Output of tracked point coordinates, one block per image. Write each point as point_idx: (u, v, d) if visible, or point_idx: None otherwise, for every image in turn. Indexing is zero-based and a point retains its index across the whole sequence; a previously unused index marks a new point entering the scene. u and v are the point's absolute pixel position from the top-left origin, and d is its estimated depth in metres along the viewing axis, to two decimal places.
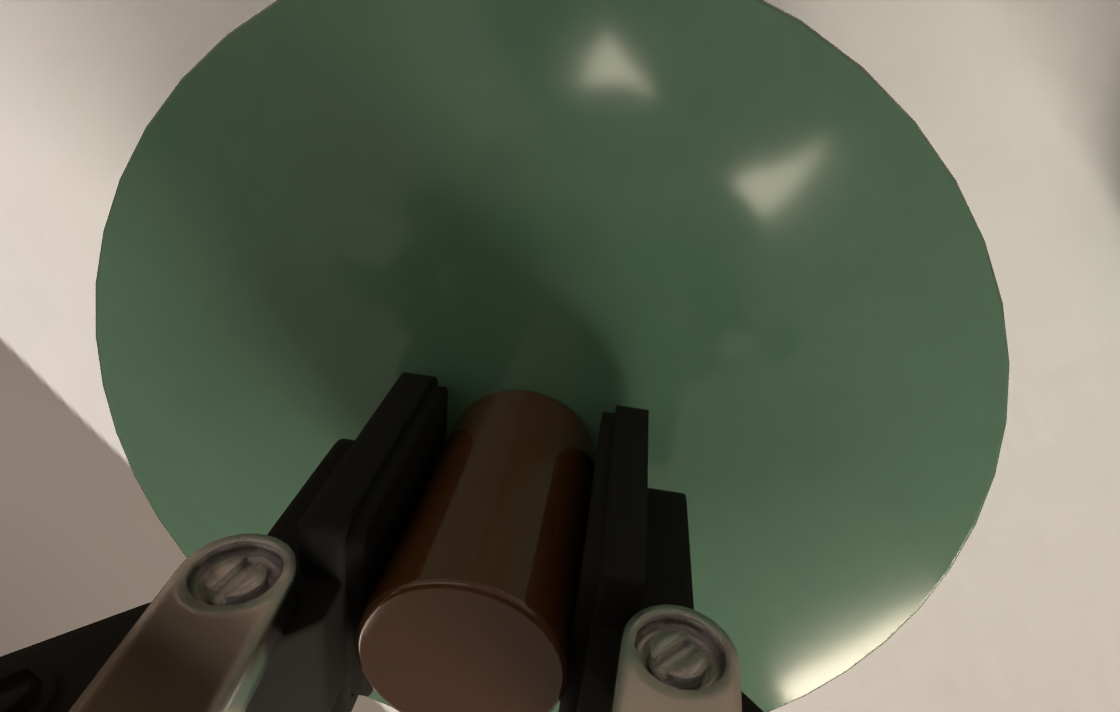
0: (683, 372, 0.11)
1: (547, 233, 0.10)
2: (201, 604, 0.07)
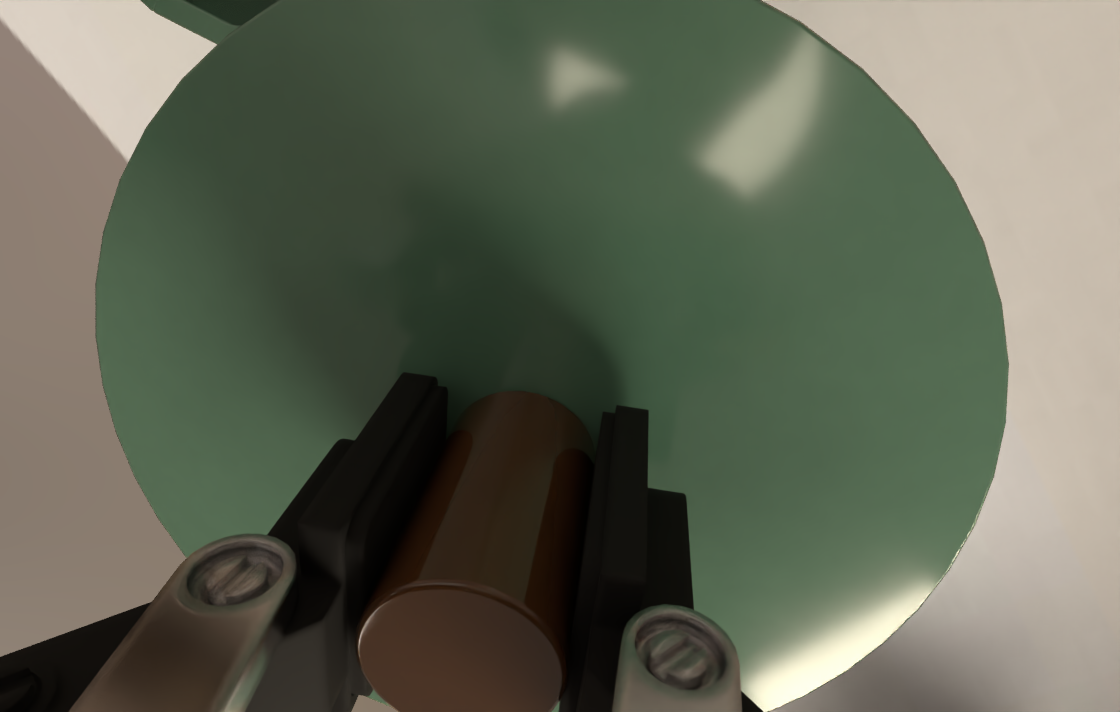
0: (683, 373, 0.11)
1: (547, 234, 0.10)
2: (201, 604, 0.07)
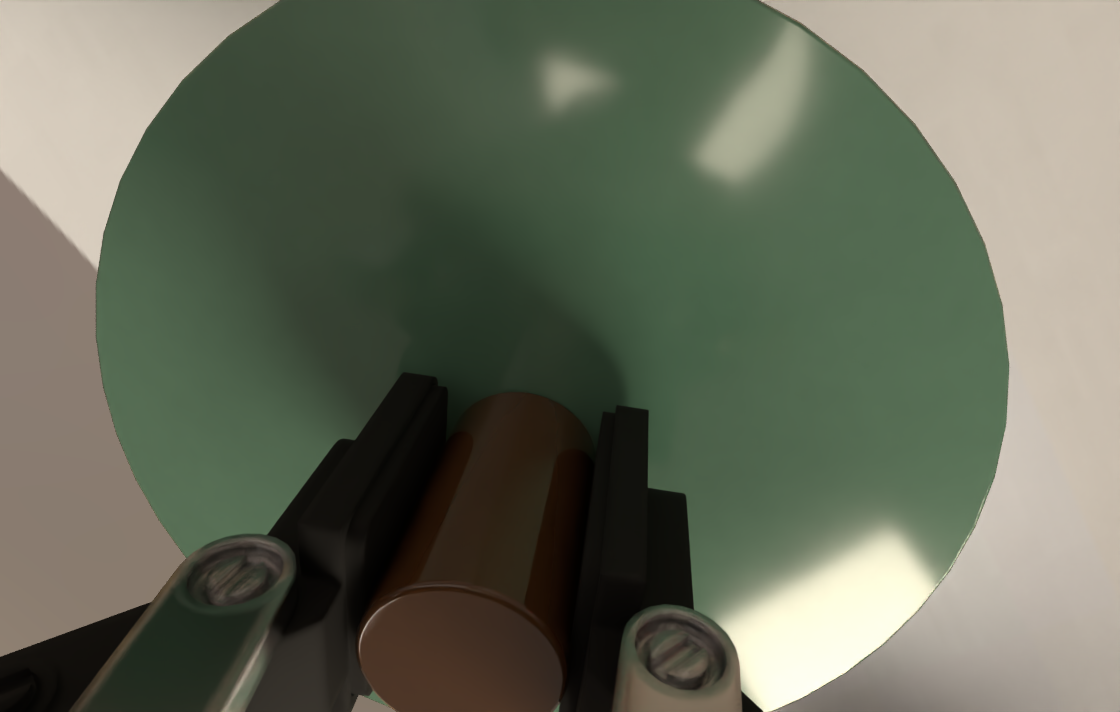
0: (683, 374, 0.11)
1: (547, 235, 0.10)
2: (201, 604, 0.07)
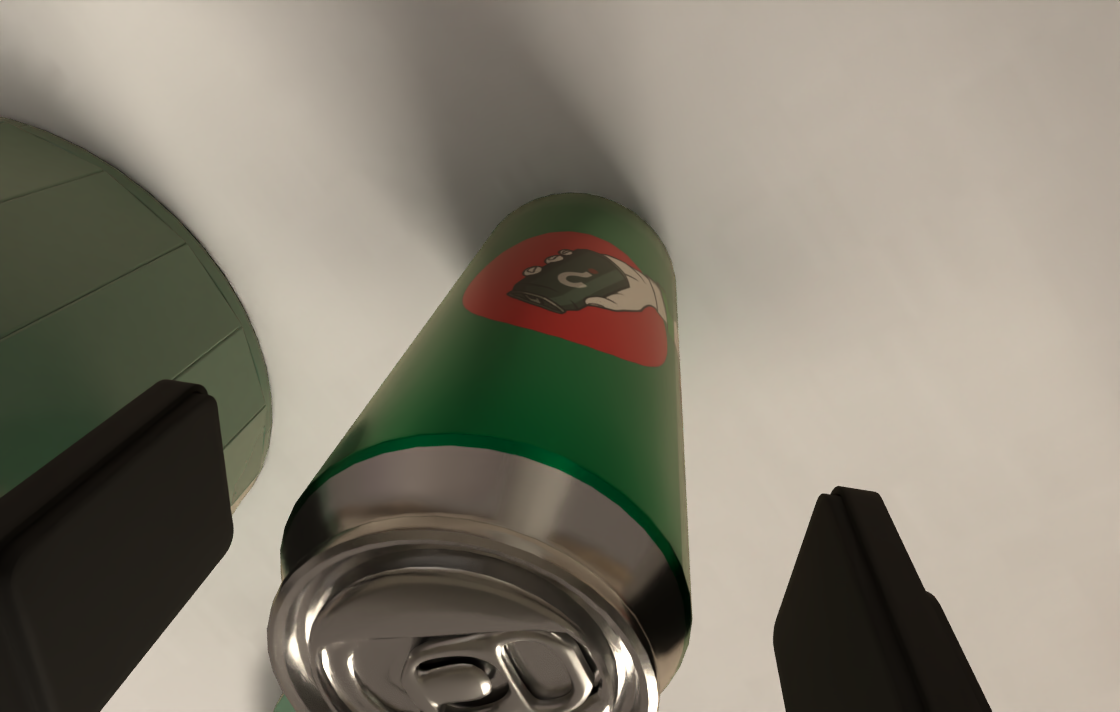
0: None
1: None
2: None
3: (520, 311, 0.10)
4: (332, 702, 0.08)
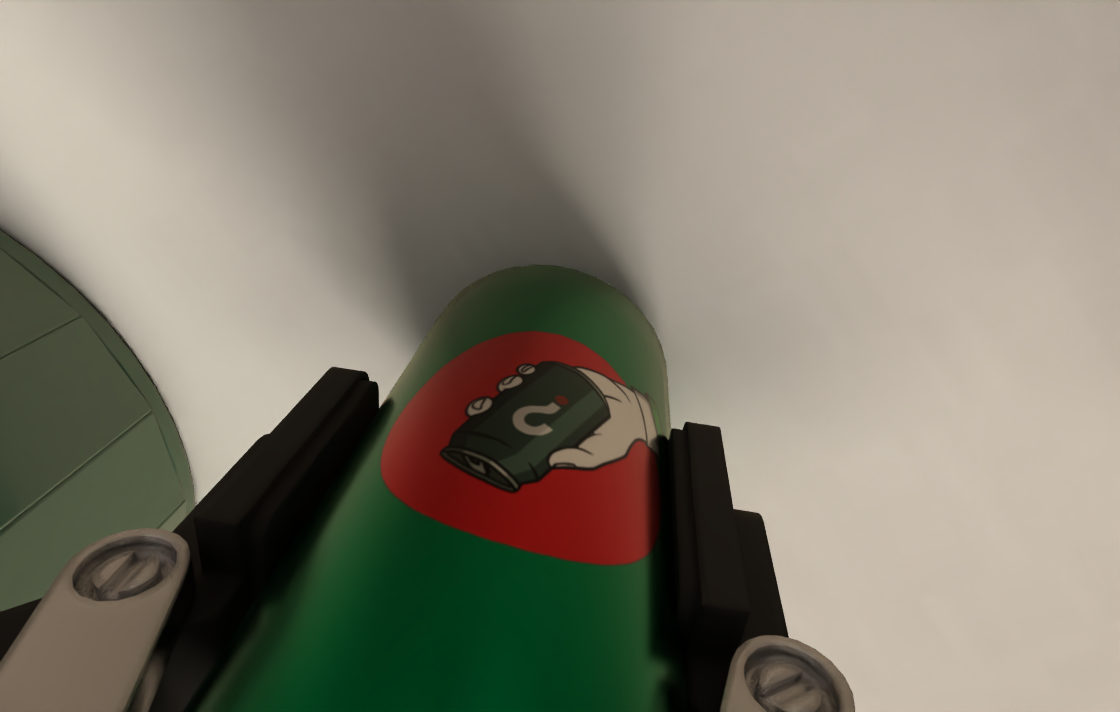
0: None
1: None
2: (92, 602, 0.07)
3: (455, 492, 0.07)
4: None
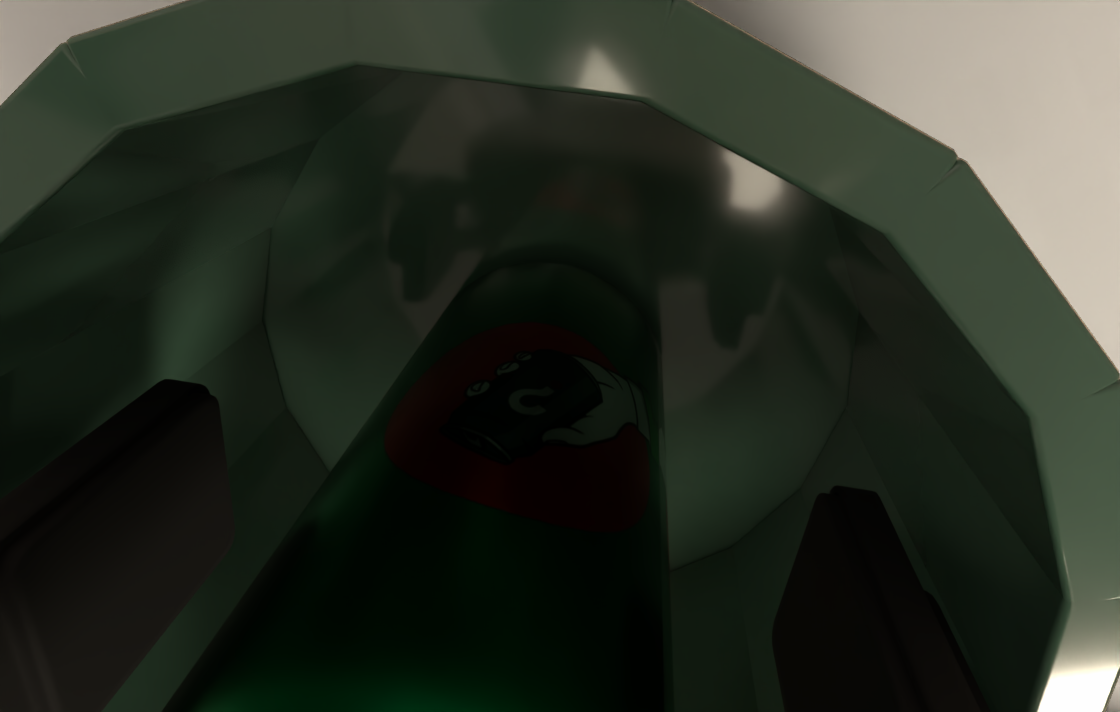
0: None
1: None
2: None
3: (452, 463, 0.08)
4: None
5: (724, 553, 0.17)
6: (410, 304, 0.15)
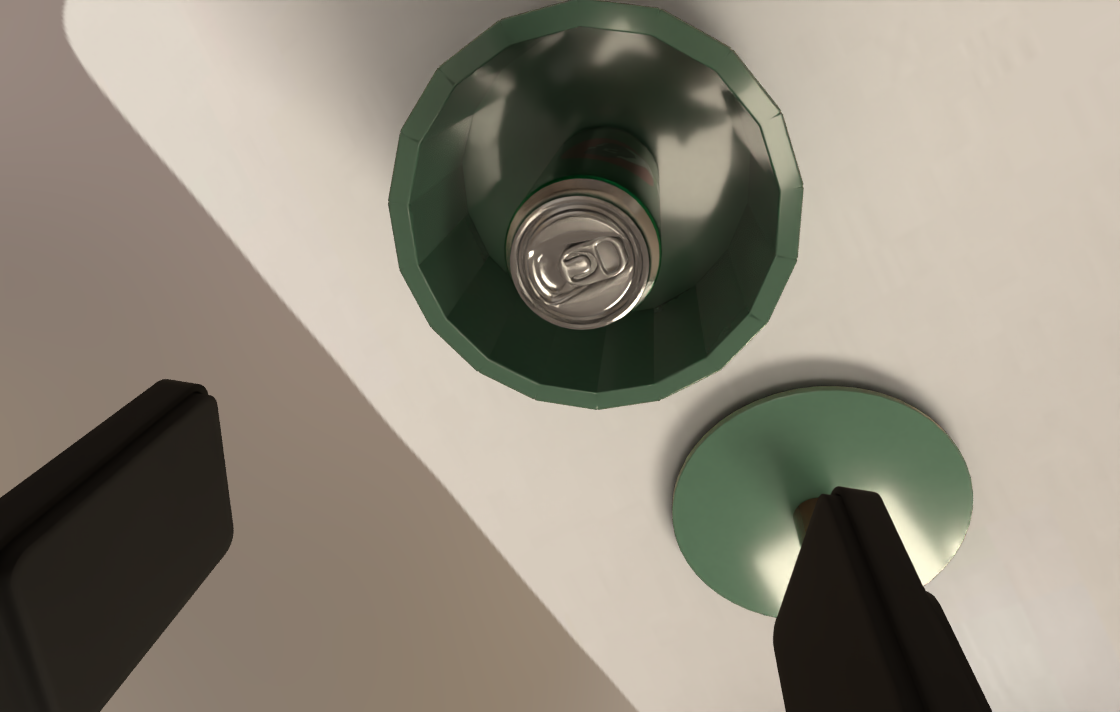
0: None
1: (839, 455, 0.36)
2: None
3: (590, 156, 0.24)
4: (531, 279, 0.22)
5: (691, 288, 0.34)
6: (537, 153, 0.32)
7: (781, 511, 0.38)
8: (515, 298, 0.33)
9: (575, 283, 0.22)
